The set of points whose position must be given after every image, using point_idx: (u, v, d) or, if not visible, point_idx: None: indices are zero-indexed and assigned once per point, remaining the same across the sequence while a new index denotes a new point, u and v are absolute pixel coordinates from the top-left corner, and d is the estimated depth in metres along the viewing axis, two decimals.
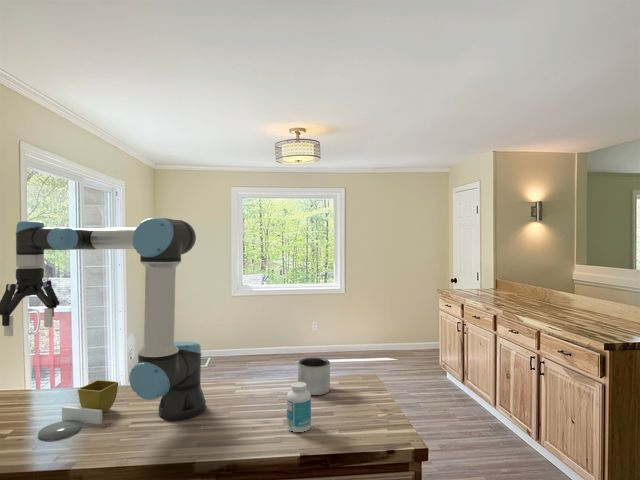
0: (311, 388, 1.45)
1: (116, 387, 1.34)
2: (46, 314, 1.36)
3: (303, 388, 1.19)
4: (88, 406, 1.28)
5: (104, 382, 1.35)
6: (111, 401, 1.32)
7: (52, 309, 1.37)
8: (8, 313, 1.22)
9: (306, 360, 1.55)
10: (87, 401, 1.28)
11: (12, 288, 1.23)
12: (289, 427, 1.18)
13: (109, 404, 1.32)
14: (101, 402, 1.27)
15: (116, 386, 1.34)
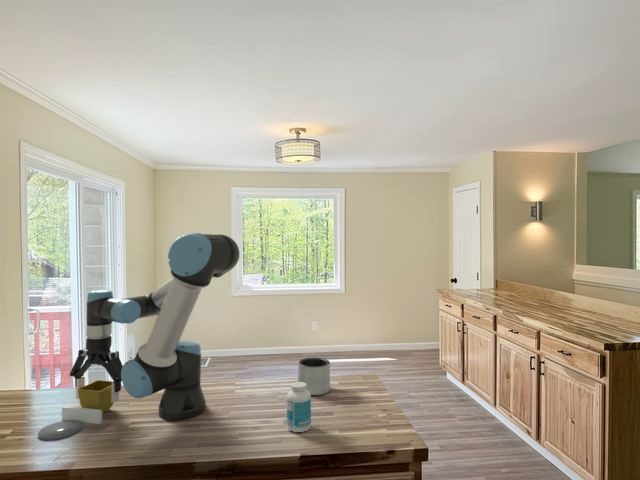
0: (311, 388, 1.45)
1: None
2: None
3: (303, 388, 1.19)
4: (88, 406, 1.28)
5: (104, 382, 1.35)
6: None
7: (116, 384, 1.29)
8: (75, 376, 1.32)
9: (306, 360, 1.55)
10: (87, 401, 1.28)
11: (79, 354, 1.32)
12: (289, 427, 1.18)
13: (109, 404, 1.32)
14: (101, 402, 1.27)
15: None
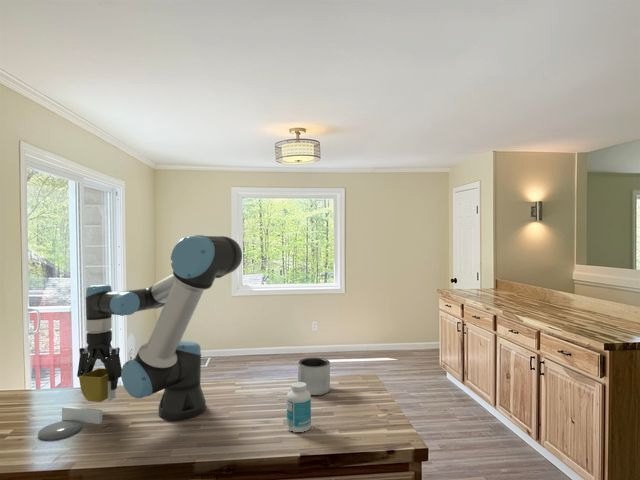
0: (311, 388, 1.45)
1: None
2: None
3: (303, 388, 1.19)
4: (89, 393, 1.28)
5: (105, 370, 1.35)
6: None
7: (112, 382, 1.29)
8: None
9: (306, 360, 1.55)
10: (88, 388, 1.27)
11: (80, 352, 1.31)
12: (289, 427, 1.18)
13: None
14: (102, 388, 1.27)
15: None
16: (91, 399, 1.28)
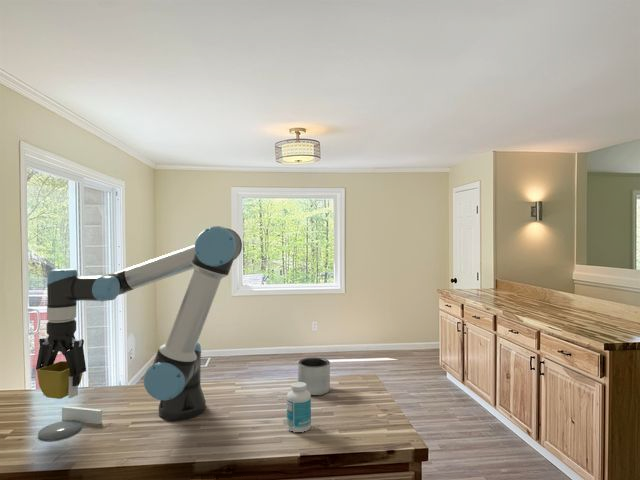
0: (311, 388, 1.45)
1: None
2: None
3: (303, 388, 1.19)
4: (48, 389, 1.14)
5: None
6: None
7: (74, 377, 1.16)
8: None
9: (306, 360, 1.55)
10: (47, 383, 1.14)
11: (40, 343, 1.18)
12: (289, 427, 1.18)
13: None
14: (62, 384, 1.14)
15: None
16: (50, 395, 1.15)
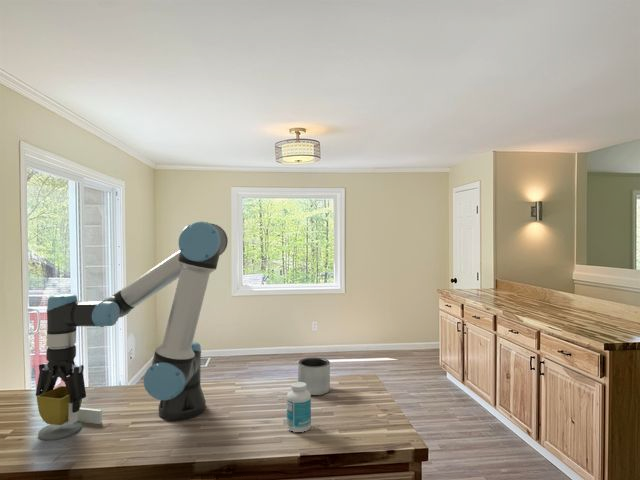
0: (311, 388, 1.45)
1: None
2: None
3: (303, 388, 1.19)
4: (48, 415, 1.14)
5: None
6: None
7: (74, 403, 1.16)
8: None
9: (306, 360, 1.55)
10: (47, 410, 1.14)
11: (40, 369, 1.18)
12: (289, 427, 1.18)
13: None
14: (62, 411, 1.14)
15: None
16: (50, 422, 1.15)
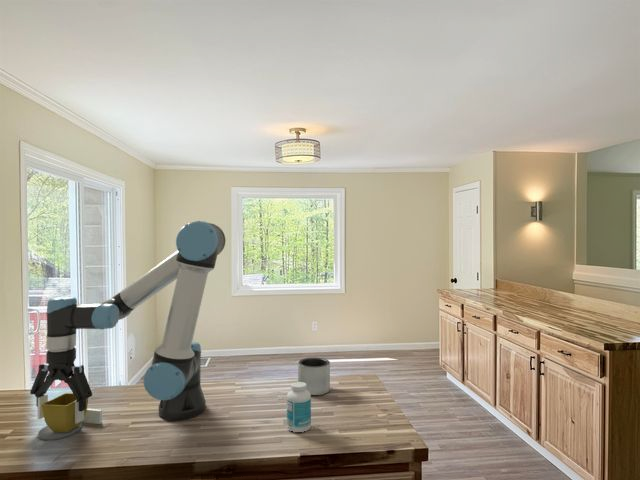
0: (311, 388, 1.45)
1: (86, 400, 1.20)
2: None
3: (303, 388, 1.19)
4: (54, 423, 1.14)
5: (73, 395, 1.22)
6: None
7: (80, 402, 1.16)
8: (36, 394, 1.18)
9: (306, 360, 1.55)
10: (52, 417, 1.14)
11: (39, 369, 1.18)
12: (289, 427, 1.18)
13: None
14: (68, 418, 1.13)
15: (86, 399, 1.20)
16: (56, 429, 1.15)
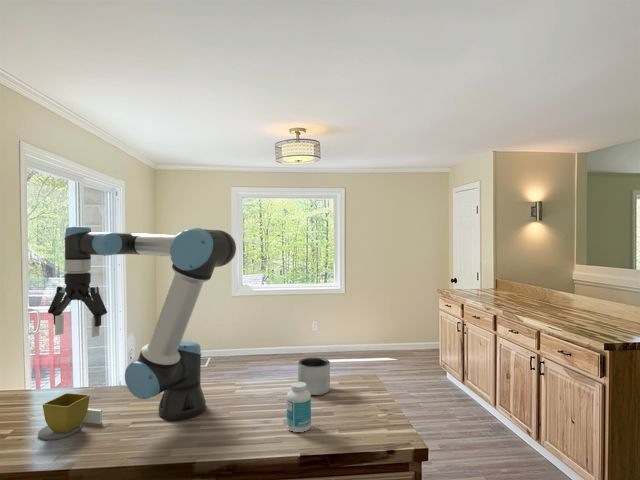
0: (311, 388, 1.45)
1: (87, 401, 1.20)
2: None
3: (303, 388, 1.19)
4: (54, 423, 1.14)
5: (74, 395, 1.21)
6: (81, 417, 1.18)
7: (96, 318, 1.29)
8: (53, 313, 1.31)
9: (306, 360, 1.55)
10: (53, 418, 1.14)
11: (57, 290, 1.31)
12: (289, 427, 1.18)
13: (79, 420, 1.18)
14: (69, 419, 1.13)
15: (87, 400, 1.20)
16: (56, 430, 1.15)
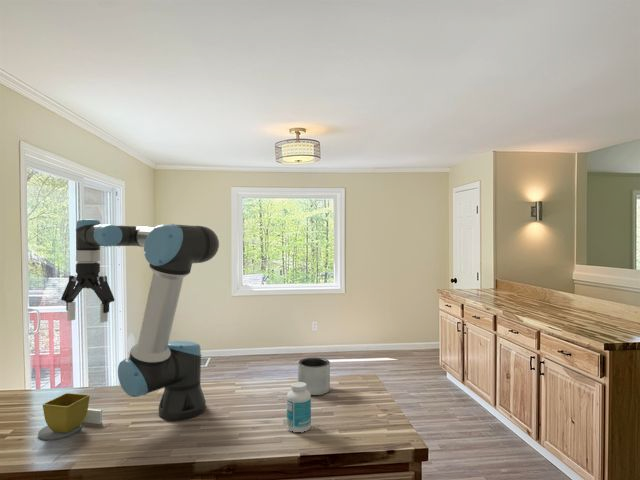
0: (311, 388, 1.45)
1: (87, 401, 1.20)
2: None
3: (303, 388, 1.19)
4: (54, 423, 1.14)
5: (74, 395, 1.21)
6: (81, 417, 1.18)
7: (104, 305, 1.38)
8: (66, 300, 1.41)
9: (306, 360, 1.55)
10: (53, 418, 1.14)
11: (69, 279, 1.41)
12: (289, 427, 1.18)
13: (79, 420, 1.18)
14: (69, 419, 1.13)
15: (87, 400, 1.20)
16: (56, 430, 1.15)
